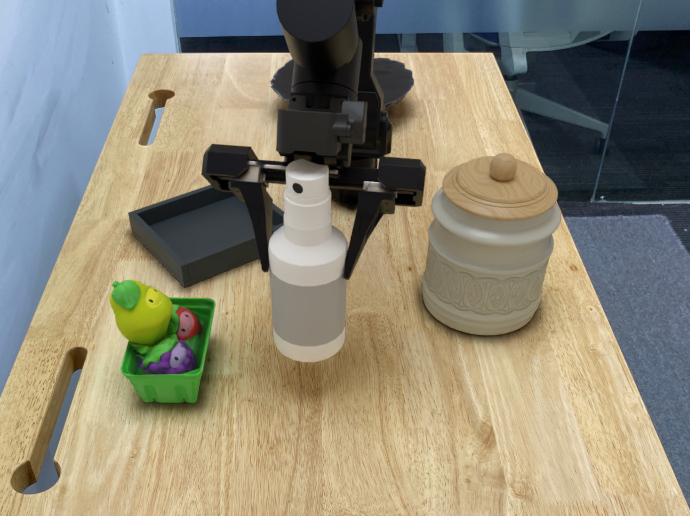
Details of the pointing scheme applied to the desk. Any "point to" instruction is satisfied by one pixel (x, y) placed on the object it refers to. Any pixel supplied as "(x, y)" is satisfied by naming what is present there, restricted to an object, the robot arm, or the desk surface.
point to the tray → (199, 233)
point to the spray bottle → (308, 269)
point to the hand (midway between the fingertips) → (305, 275)
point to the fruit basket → (162, 340)
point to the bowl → (386, 71)
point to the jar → (490, 244)
